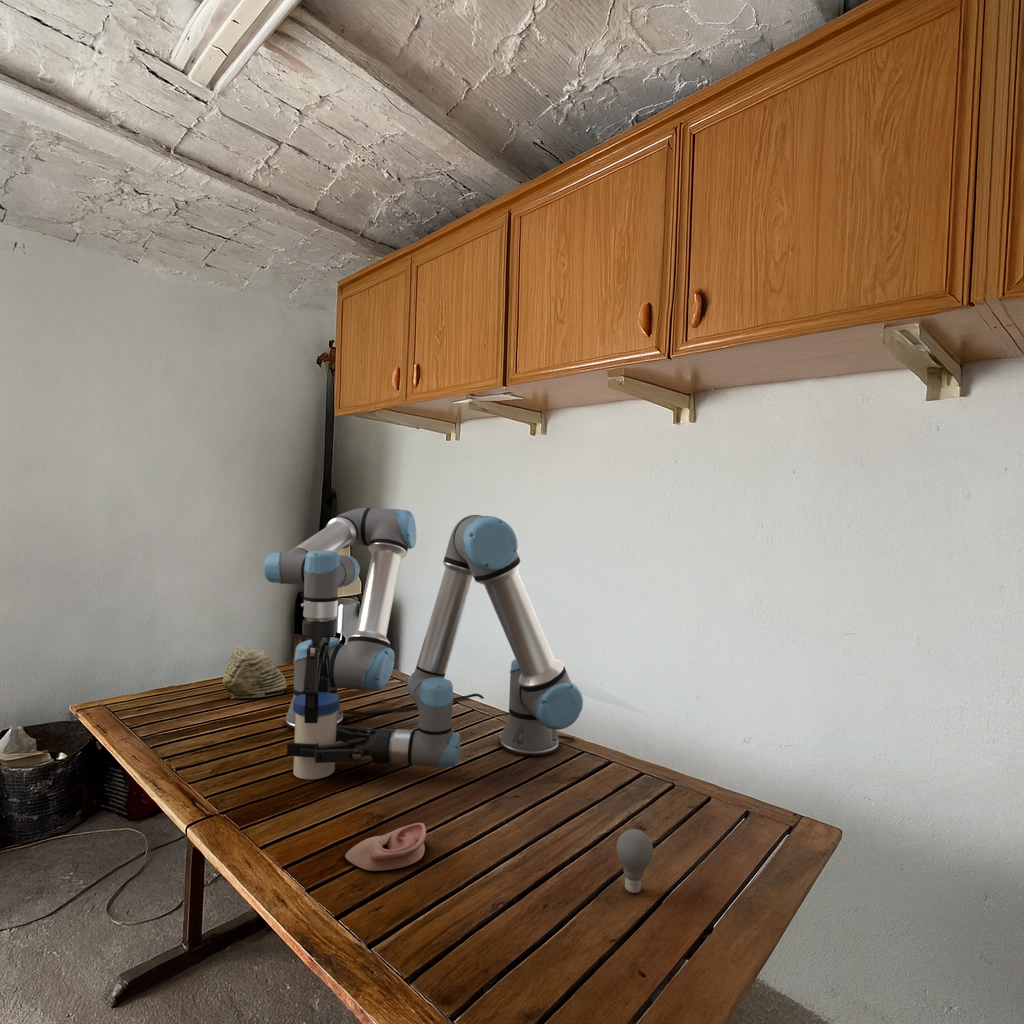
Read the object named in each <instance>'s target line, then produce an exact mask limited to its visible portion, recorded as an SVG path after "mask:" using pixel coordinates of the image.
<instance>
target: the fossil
mask: <svg viewBox="0 0 1024 1024" xmlns="http://www.w3.org/2000/svg"><path fill="white" fill-rule="evenodd" d="M222 676H223V677H222V685H223V687H224V688H225V690H226V691H228V693H229V698H230V699H250V698H264V697H271V696H275V695H281V694H284V693H285V691H286V689H287V687H288V686H287V680H286V678H285V676H284V674H283V673H282V672H281V669H279V668H278V667H277V665H276V663H275V662H274V660H273V659H272V658H271V657H270V656H269V655H268V654H267V653H266V652H265V650H264V649H263V648H260V647H258V648H251V647H247V646H246V647H245V646H238V647H237V648H236V649H235V650H233V651H232V653H231V656H230V657H229V659H228V660H227V663H226V666H225V668H224V671H223V675H222Z"/></svg>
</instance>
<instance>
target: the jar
mask: <svg viewBox="0 0 1024 1024" xmlns="http://www.w3.org/2000/svg"><path fill="white" fill-rule="evenodd" d="M304 721H305V715H300V714H297V713H295V730H294V732H293V733H294V737H293V743H304V744H316V743H318V745H319V746H325V745H333V744H337V741H336V733H337V728H338V726H337V711H336V712H334V713H331V714H327V715H321V716H318V722H317V723H304ZM292 760H293V763H292V774H293V775H294V777H296V778H298V779H301V780H320V779H324V778H326V777H329V776H331V775H332V774H333V773H335V771H336V762H328V763H315V758H313V757H297V756H293V759H292Z"/></svg>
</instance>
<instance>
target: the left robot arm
mask: <svg viewBox="0 0 1024 1024" xmlns="http://www.w3.org/2000/svg"><path fill="white" fill-rule="evenodd" d="M416 544H417V525H416V520H415V517H414V514H413V513H412V512H411V511H410V510H408V509H399V508H376V507H358V508H354V509H351V510H349V511H345V512H343V513H340V514H338V515H337V516H335V517H334V518H332V519H330V520H329V521H328V522H327V523H326V525H325V527H324V528H323V529H321V530H319V531H318V532H316V533H315V534H313V535H312V536H310V537H309V538H307V539H305V540H304V541H302V542H301V543H300V544H298V545H296V546H295V547H294V548H291V549H290V550H289V551H287V552H282V551H280V552H271V553H269V554H268V555H267V556H266V557H265V560H264V564H263V572H264V573H263V574H264V577H265V579H266V580H267V581H268V582H270V583H276V584H280V585H283V584H284V585H299V586H300V585H301V586H302V585H303V603H301V604H300V607H301V608H303V612H302V617H304V619H303V620H302V627H301V628H302V635H303V637H306V638H310V639H307V640H304V641H302V642H299V643H298V644H297V645H296V647H295V652H294V653H295V654H294V659H293V661H294V672H293V695H292V696H293V697H292V699H291V702H290V704H289V708H288V711H287V713H286V715H285V726H286V728H287V729H289V730H291V731H295V712H294V710H293V701H294V698H295V697H297V696H299V695H302V694H305V721H304V723H317V722H318V699H319V693H318V692H329V693H334V694H337V695H338V689H346V690H358V691H364V692H368V691H370V692H371V691H373V692H377V691H381V690H382V689H384V688H385V686H386V685H387V684H388V683H389V681H390V678H391V677H392V673H393V671H394V666H395V657H396V656H395V652H394V650H393V649H392V648H391V643H390V641H389V639H388V638H387V634H388V629H389V623H390V618H391V612H392V608H393V602H394V596H395V592H396V587H397V586H396V585H397V582H398V576H399V570H400V566H401V560H402V559H404V558H405V557H407V555H408V551H409V550H412V549H414V548H415V547H416ZM352 546H366V547H368V548H367V550H368V551H369V553H370V554H371V557H370V561H369V562H370V563H369V565H368V566H369V567H368V571H367V575H366V581H365V586H364V590H363V596H362V600H361V605H360V609H359V614H358V618H357V624H356V628H355V632H354V633H353V634H351V635H350V636H348V640H347V644H341V641H340V639H339V638H338V637H334V636H336V635H337V630H338V629H337V628H338V627H337V626H338V625H337V624H338V620H337V619H336V617H338V609H339V608H338V606H339V605H338V603H339V599H338V598H339V597H338V596H339V588H342V587H347V586H349V585H351V584H352V583H354V582H355V581H356V580H358V577H359V575H360V571H361V570H360V569H361V568H360V564H359V562H358V560H357V559H356V558H354V557H353V556H351V555H348V554H339V553H338V552H339V551H340V550H342V549H348V548H350V547H352ZM474 697H478V698H480V699H482V700H484V699H485V697H484V696H483V695H482V694H480V693H471V694H467V695H463V696H457V697H456V696H455V697H454V698H453V702H454V701H459V700H466V699H469V698H474ZM416 709H418V708H417V706H416V705H411V706H402V707H392V708H386V709H378V710H369V711H364V710H363V711H361V710H343V709H342V706H341V705H340V708H339V709H338V710H337V727H338V725H342V723H343V722H344V715H347V714H348V715H377V714H384V713H391V712H399V711H408V710H416Z"/></svg>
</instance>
